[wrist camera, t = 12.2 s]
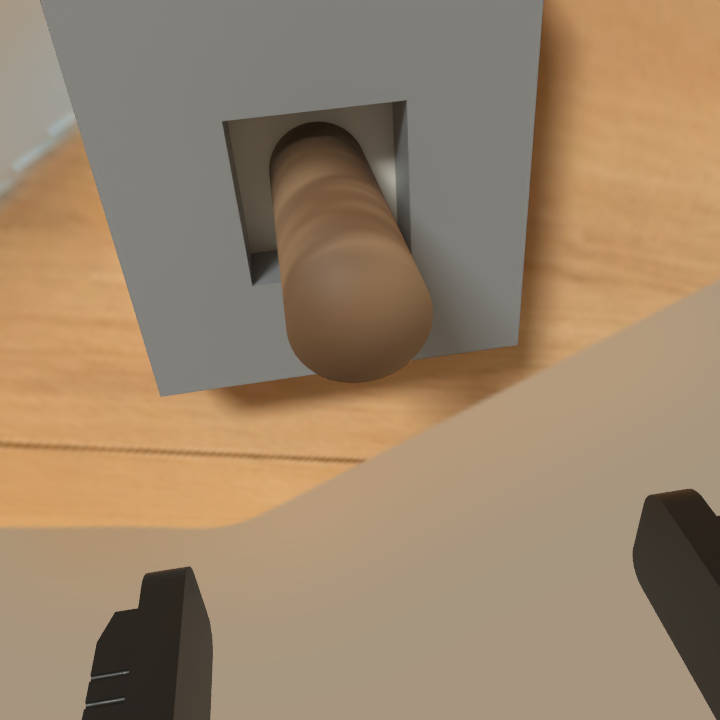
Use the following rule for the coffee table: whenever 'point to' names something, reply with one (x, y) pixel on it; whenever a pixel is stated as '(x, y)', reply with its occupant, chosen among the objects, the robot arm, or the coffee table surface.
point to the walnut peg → (343, 260)
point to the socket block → (263, 131)
